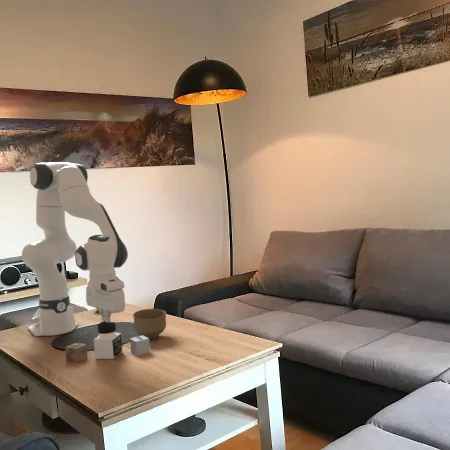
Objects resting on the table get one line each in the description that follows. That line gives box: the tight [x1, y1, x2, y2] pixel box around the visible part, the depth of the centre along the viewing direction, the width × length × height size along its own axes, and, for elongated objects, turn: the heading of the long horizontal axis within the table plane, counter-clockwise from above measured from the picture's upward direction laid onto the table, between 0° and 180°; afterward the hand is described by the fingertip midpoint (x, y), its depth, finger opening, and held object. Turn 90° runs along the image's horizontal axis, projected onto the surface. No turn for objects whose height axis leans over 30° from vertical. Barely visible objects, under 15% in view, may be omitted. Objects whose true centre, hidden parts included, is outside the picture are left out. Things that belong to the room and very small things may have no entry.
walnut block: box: [64, 342, 89, 364], centre depth 170 cm, size 5×5×5 cm
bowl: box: [132, 308, 167, 340], centre depth 189 cm, size 13×13×10 cm
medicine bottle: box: [93, 320, 123, 360], centre depth 172 cm, size 7×7×12 cm
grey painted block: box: [129, 335, 151, 356], centre depth 174 cm, size 5×5×5 cm
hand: (106, 321), depth 171 cm, fingers closed
